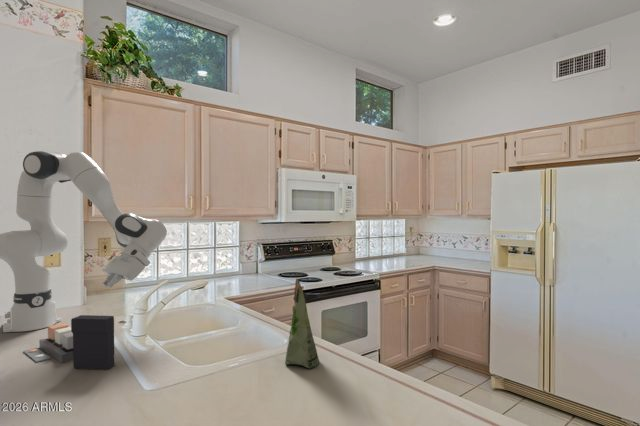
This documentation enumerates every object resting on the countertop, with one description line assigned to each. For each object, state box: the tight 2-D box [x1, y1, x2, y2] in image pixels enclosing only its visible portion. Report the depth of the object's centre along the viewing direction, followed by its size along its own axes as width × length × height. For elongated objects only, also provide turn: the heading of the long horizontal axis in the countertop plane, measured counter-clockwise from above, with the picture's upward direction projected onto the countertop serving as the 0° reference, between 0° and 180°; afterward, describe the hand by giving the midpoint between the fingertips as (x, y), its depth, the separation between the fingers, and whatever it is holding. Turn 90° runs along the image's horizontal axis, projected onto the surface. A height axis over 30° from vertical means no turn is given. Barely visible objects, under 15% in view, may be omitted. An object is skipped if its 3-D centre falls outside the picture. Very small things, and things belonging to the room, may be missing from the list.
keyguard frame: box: [39, 337, 73, 364], centre depth 121 cm, size 22×9×2 cm, turn 52°
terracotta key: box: [47, 322, 69, 340], centre depth 125 cm, size 5×5×4 cm
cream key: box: [55, 326, 72, 344], centre depth 121 cm, size 5×5×4 cm
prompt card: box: [22, 347, 51, 363], centre depth 117 cm, size 14×4×1 cm, turn 52°
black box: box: [70, 314, 115, 371], centre depth 108 cm, size 11×4×15 cm, turn 84°
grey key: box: [62, 332, 73, 349], centre depth 117 cm, size 5×5×4 cm
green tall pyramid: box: [285, 277, 320, 369], centre depth 110 cm, size 11×12×25 cm
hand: (106, 286), depth 131 cm, fingers closed
